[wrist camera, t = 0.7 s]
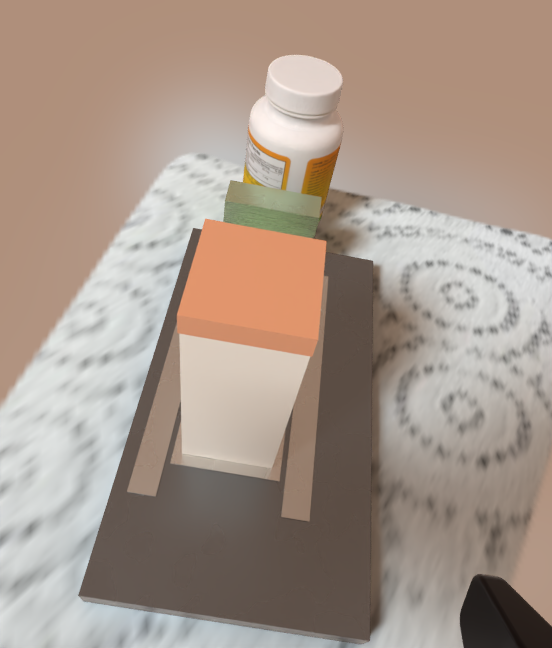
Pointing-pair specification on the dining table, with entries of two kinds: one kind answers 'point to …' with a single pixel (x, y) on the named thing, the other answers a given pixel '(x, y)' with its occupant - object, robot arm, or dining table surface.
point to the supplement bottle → (296, 128)
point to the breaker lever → (246, 339)
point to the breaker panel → (253, 476)
